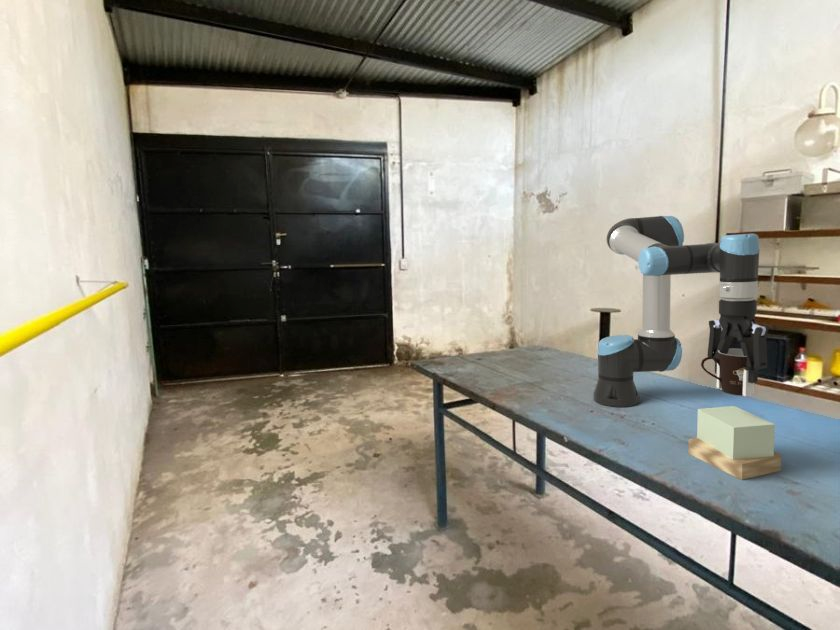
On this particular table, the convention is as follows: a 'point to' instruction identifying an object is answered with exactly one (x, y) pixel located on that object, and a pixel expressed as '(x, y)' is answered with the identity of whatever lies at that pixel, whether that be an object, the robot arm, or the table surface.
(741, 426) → the sage brick
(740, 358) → the coffee mug
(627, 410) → the table surface
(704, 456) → the oak block
